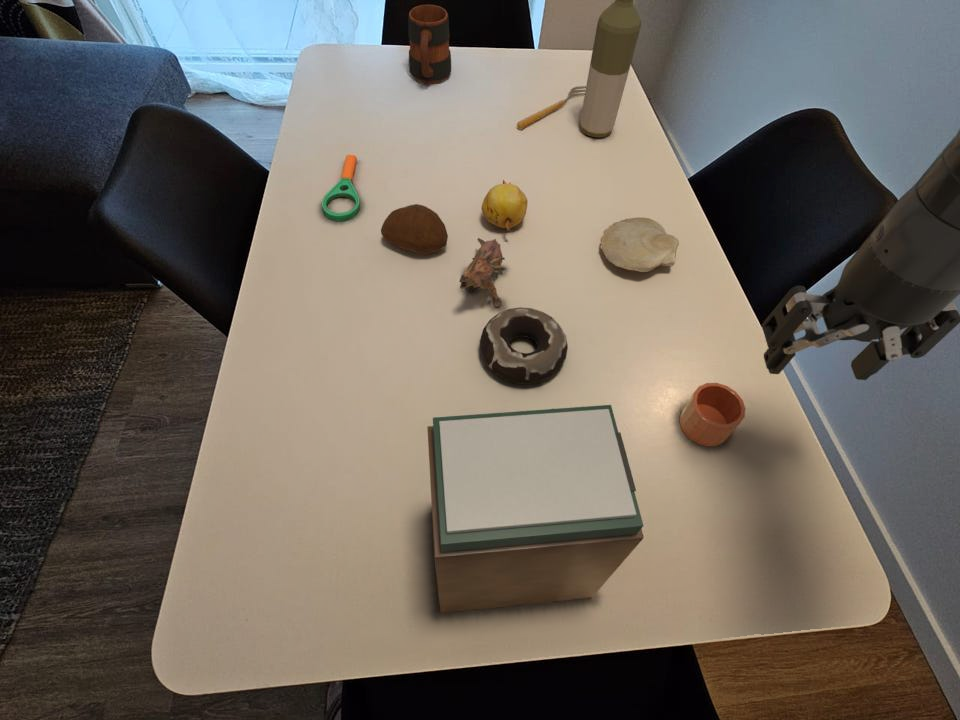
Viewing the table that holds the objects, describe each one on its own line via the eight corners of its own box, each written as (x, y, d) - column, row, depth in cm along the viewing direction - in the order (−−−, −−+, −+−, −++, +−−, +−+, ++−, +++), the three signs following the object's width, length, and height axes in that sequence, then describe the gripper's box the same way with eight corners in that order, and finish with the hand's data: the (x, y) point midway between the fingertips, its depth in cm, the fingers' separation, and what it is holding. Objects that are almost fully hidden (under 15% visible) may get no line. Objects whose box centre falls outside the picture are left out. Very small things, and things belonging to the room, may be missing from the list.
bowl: (731, 412, 73) (747, 392, 69) (726, 453, 70) (742, 434, 66) (683, 397, 75) (696, 376, 70) (676, 436, 71) (689, 417, 67)
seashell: (584, 241, 91) (587, 227, 88) (643, 219, 94) (648, 206, 92) (626, 291, 85) (631, 277, 83) (688, 266, 88) (694, 253, 86)
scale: (607, 416, 49) (613, 400, 47) (638, 534, 44) (647, 523, 41) (433, 428, 48) (432, 413, 46) (441, 552, 42) (440, 542, 40)
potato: (389, 223, 91) (385, 187, 86) (453, 233, 91) (453, 198, 85) (377, 253, 87) (372, 218, 82) (443, 264, 87) (442, 229, 81)
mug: (403, 92, 113) (399, 31, 104) (412, 61, 120) (409, 1, 110) (447, 96, 113) (446, 35, 103) (453, 64, 120) (453, 4, 110)
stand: (572, 497, 66) (610, 412, 50) (592, 597, 60) (644, 538, 43) (434, 509, 65) (427, 426, 48) (440, 613, 58) (434, 557, 42)
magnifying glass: (357, 222, 91) (355, 214, 90) (319, 220, 91) (317, 212, 90) (369, 163, 100) (368, 155, 99) (335, 162, 100) (333, 153, 98)
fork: (523, 125, 106) (594, 85, 113) (516, 118, 106) (587, 79, 114) (519, 135, 108) (589, 95, 116) (513, 129, 108) (583, 89, 116)
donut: (471, 326, 80) (472, 308, 77) (551, 314, 82) (555, 296, 78) (489, 396, 74) (491, 379, 70) (576, 381, 75) (581, 364, 72)
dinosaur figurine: (499, 322, 81) (504, 277, 73) (458, 317, 81) (459, 271, 73) (509, 254, 88) (514, 207, 81) (472, 249, 89) (473, 202, 81)
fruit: (534, 216, 85) (532, 173, 91) (490, 205, 84) (491, 162, 89) (518, 247, 91) (517, 205, 96) (477, 238, 89) (478, 195, 95)
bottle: (614, 121, 110) (660, -61, 85) (613, 143, 106) (661, -42, 81) (578, 117, 110) (613, -66, 86) (576, 138, 106) (612, -47, 82)
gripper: (846, 281, 41) (750, 397, 54) (1045, 294, 41) (899, 407, 54) (817, 211, 45) (734, 334, 58) (996, 222, 45) (872, 343, 58)
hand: (814, 369), depth 56 cm, fingers open, 8 cm apart
